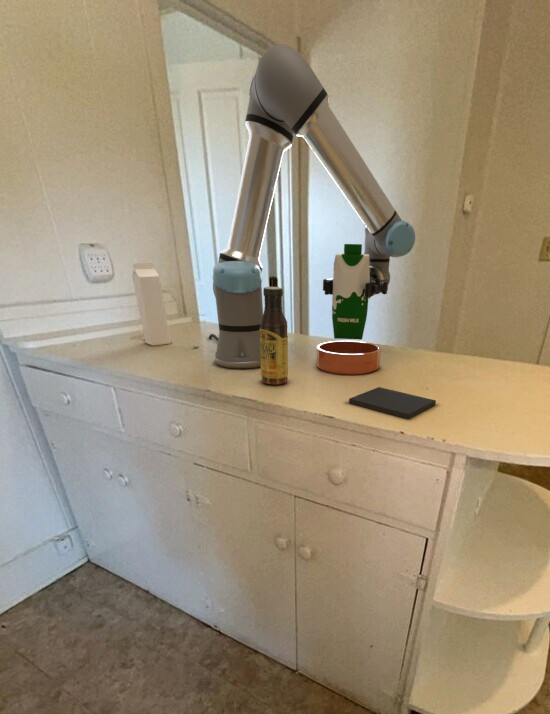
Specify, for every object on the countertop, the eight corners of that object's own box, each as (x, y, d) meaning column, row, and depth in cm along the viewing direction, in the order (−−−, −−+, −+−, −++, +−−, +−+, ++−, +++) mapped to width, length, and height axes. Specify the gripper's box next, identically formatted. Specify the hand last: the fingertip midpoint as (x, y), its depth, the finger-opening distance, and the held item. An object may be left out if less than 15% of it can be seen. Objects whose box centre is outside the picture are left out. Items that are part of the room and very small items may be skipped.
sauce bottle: (256, 382, 100) (249, 287, 89) (275, 377, 104) (271, 285, 93) (274, 388, 96) (270, 289, 85) (294, 382, 100) (292, 287, 89)
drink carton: (330, 339, 105) (333, 243, 94) (332, 332, 112) (335, 243, 102) (365, 340, 104) (372, 244, 94) (365, 333, 112) (372, 244, 101)
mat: (348, 403, 88) (349, 398, 87) (378, 391, 95) (378, 386, 94) (408, 419, 80) (408, 414, 80) (435, 405, 87) (436, 400, 87)
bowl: (304, 367, 112) (303, 347, 109) (342, 356, 122) (342, 338, 120) (354, 379, 103) (355, 357, 100) (390, 366, 114) (392, 346, 111)
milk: (145, 342, 136) (129, 263, 124) (163, 340, 139) (149, 262, 127) (152, 346, 132) (136, 263, 120) (171, 343, 135) (157, 263, 123)
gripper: (405, 299, 116) (390, 309, 98) (329, 295, 122) (302, 304, 104) (409, 268, 112) (394, 272, 94) (330, 265, 118) (302, 268, 100)
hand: (346, 289), depth 99 cm, fingers closed on drink carton, 9 cm apart
